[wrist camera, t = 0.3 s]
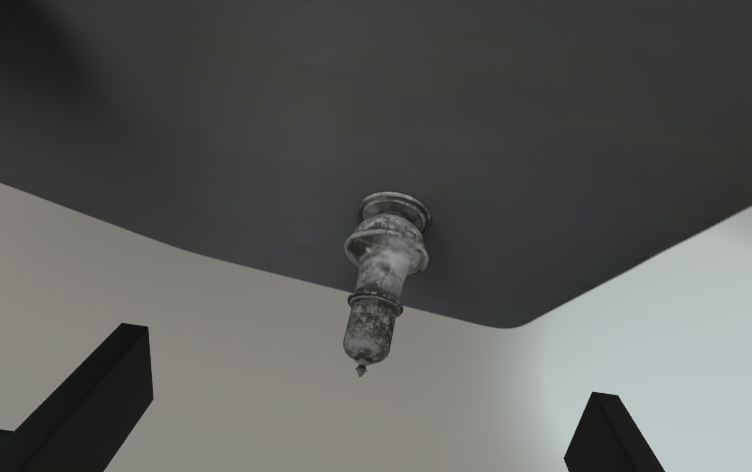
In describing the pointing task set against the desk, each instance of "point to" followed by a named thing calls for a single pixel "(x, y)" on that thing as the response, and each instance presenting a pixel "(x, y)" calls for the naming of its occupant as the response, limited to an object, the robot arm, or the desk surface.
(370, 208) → the salt shaker
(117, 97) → the desk surface
